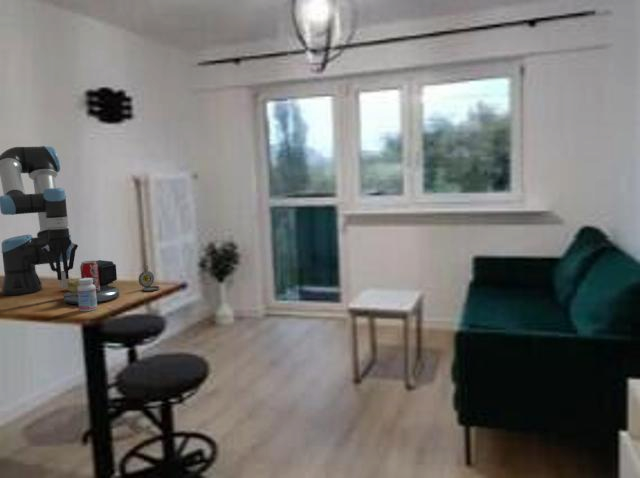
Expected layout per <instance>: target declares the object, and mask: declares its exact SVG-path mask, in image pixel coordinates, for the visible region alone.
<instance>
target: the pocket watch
mask: <svg viewBox="0 0 640 478" xmlns="http://www.w3.org/2000/svg"><path fill="white" fill-rule="evenodd" d="M142 269H143V270H145V271H142V272H141V273H140V274H139V275H138V283H139V285H140V286H141V287H143V288H142V291H144V292H155V291H158V290H159V289H160V288H161V287H160V286H157V285H153V283H154V280H155V276H154V273H153V272H152V271H149V270H148V269H149V265H146V264H144V265H143V266H142Z"/></svg>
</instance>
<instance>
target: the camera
mask: <svg viewBox="0 0 640 478" xmlns="http://www.w3.org/2000/svg"><path fill="white" fill-rule="evenodd" d="M95 261H96V263H97V265H98V274H99V285H100V287H109V285H111V284H113V283H114V282H116V281H117V280H118V276H117V275H118V274H117V265H116V264H115V263H114V262H113V261H111V260H110V261H109V260H100V259H98V260H95Z"/></svg>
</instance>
